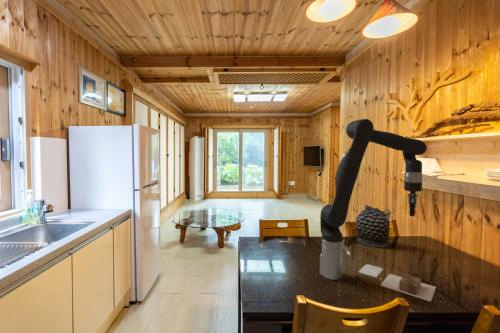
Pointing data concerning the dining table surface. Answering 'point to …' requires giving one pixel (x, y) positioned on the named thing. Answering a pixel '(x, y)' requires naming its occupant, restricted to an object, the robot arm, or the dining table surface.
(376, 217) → the dark studded dome
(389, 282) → the mat
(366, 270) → the external hard drive
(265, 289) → the dining table surface
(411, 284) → the card box
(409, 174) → the robot arm
